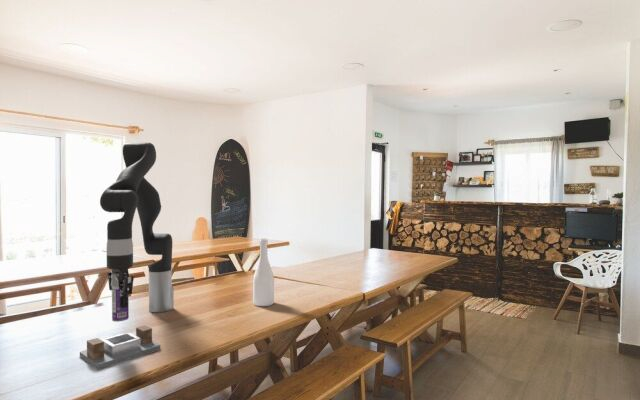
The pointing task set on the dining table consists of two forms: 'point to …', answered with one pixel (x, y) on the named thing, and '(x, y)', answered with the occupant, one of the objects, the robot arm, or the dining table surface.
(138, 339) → the socket
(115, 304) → the container
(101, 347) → the walnut blocks
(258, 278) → the wine bottle
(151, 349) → the base board
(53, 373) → the dining table surface
